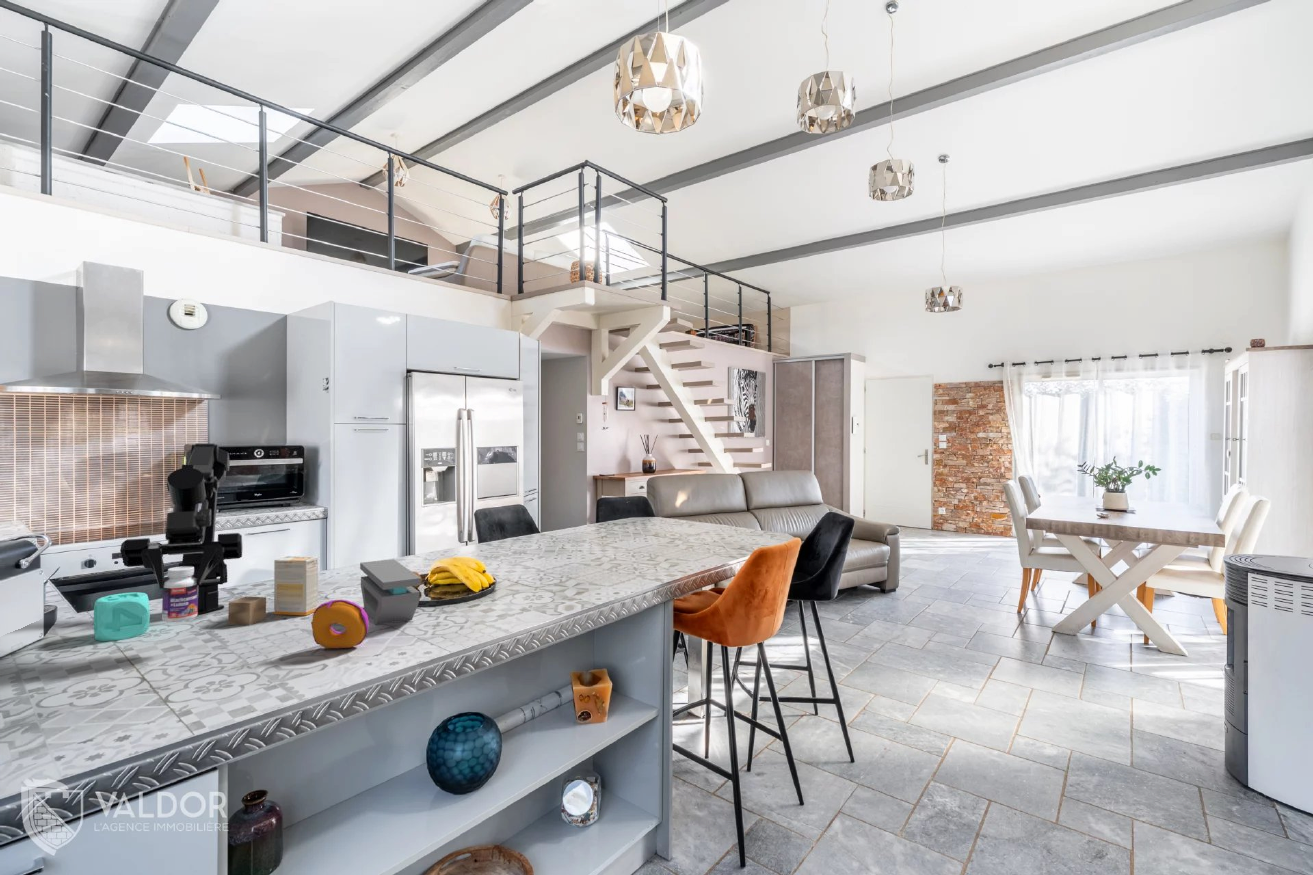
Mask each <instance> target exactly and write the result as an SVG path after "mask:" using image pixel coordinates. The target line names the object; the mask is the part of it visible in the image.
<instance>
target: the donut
mask: <svg viewBox="0 0 1313 875" xmlns="http://www.w3.org/2000/svg"><path fill="white" fill-rule="evenodd" d="M312 614H313V615H312V621H311V622H310V624H311V629H312V636H313V640H314V642H315V643H316V644H317V645H320V646H321V647H323V648H326V649H338V650H340V649H343V648H344V649H348V648H353V647H357V646H358V645H360V644H361V643H363V642H364V640H365V639H366V637H367V635H368V631H369V630H368V629H369V623H370V622H369V617H368V615H367V613H366V612H365V609H364V607H362V606H360V605H359V604H358V603H356V602H354V601H350V600H347V599H333V600H329V601H326V602H324V603H322V604H320V605H318V608H316V610H315V612H313V613H312ZM332 624H339V625H340V626H343V627H344V628H345V630H344V631H337V630H335V629H334V628H333V626H332Z"/></svg>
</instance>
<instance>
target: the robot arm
mask: <svg viewBox="0 0 1313 875" xmlns="http://www.w3.org/2000/svg"><path fill="white" fill-rule="evenodd" d="M185 456H186V458H185V459H186V460H185V464H182V465H181V468H179V469H176V470H173V471H172V472H171V473H169V475H168V476H167V478H166V480H167V483H166V486H167V491H168V493H169V495H170V497H169V498H170V502H171V503H172V504H173V508H172V509H173V510H172V511H171V512H168V513H166V514H167V515H166V523H165V524H166V525H165V541H167V543H161V542H158V541H157V542H156V541H155V542H154V541H153V542H152V541H151V539H150V537H145V538H130V539H128V538H127V539H125V540H124V541H123V542H122V543H121V544H120V548H119V550H120V551H119V552H120V555H121V559H122V562H123V565H124V567H128V568H132V567H134V568H135V567H144V568H145V569H151V571H152V572H153V573H154V575H155V577H156V581H157V584H158V587H159V589H160V590H161V589H162V590H163V583H164V582H165V563H164V560H163V559H164V557H163V556H164V555H168V556H178V555H179V556H180V555H182V559H181V560H182V561H179V562H178V567H181V566H192V567H194V575H192V576H193V577H195V578H197V585H198V614H197V615H201V614H206V613H210V612H213V611H217V610H221V609H225V605H222V604H219V585H224V584H226V583H228V565H227V563H225V560H237V559H241V558H242V557H243V536H242V534H241V533H240V532H232V533H218V534H217V541H215V533H216V518H217V516H216V515H217V501H218V489H219V488H220V486H221V485H222V484H223V483H224V482H225V480H226V477H227V472H229V471H230V454H229V452H228V451H226V450H224V449H222V448H220V447H219V444H215V443H202V442H201V443H195V444H194V443H193V444H192V445H191V449H190V450H188V451H187V452H186V455H185Z"/></svg>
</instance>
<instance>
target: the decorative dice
mask: <svg viewBox="0 0 1313 875" xmlns="http://www.w3.org/2000/svg"><path fill="white" fill-rule="evenodd" d="M150 611H151V609H150V601H149V596H148V594H147V593H145V592H137V591H136V592H135V591H134V592H123V593H116V594H109V595H106V596H102V597H99V598H97V599H96V601H94V607H93V633H94V640H97V641H99V642H114V641H120V640H126V639H127V640H128V639H133V638H136V637H140V636H141V635H143V634H146V633H147V631H148V630H149V627H150V620H151V619H150V618H151V617H150V614H151V612H150Z"/></svg>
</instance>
